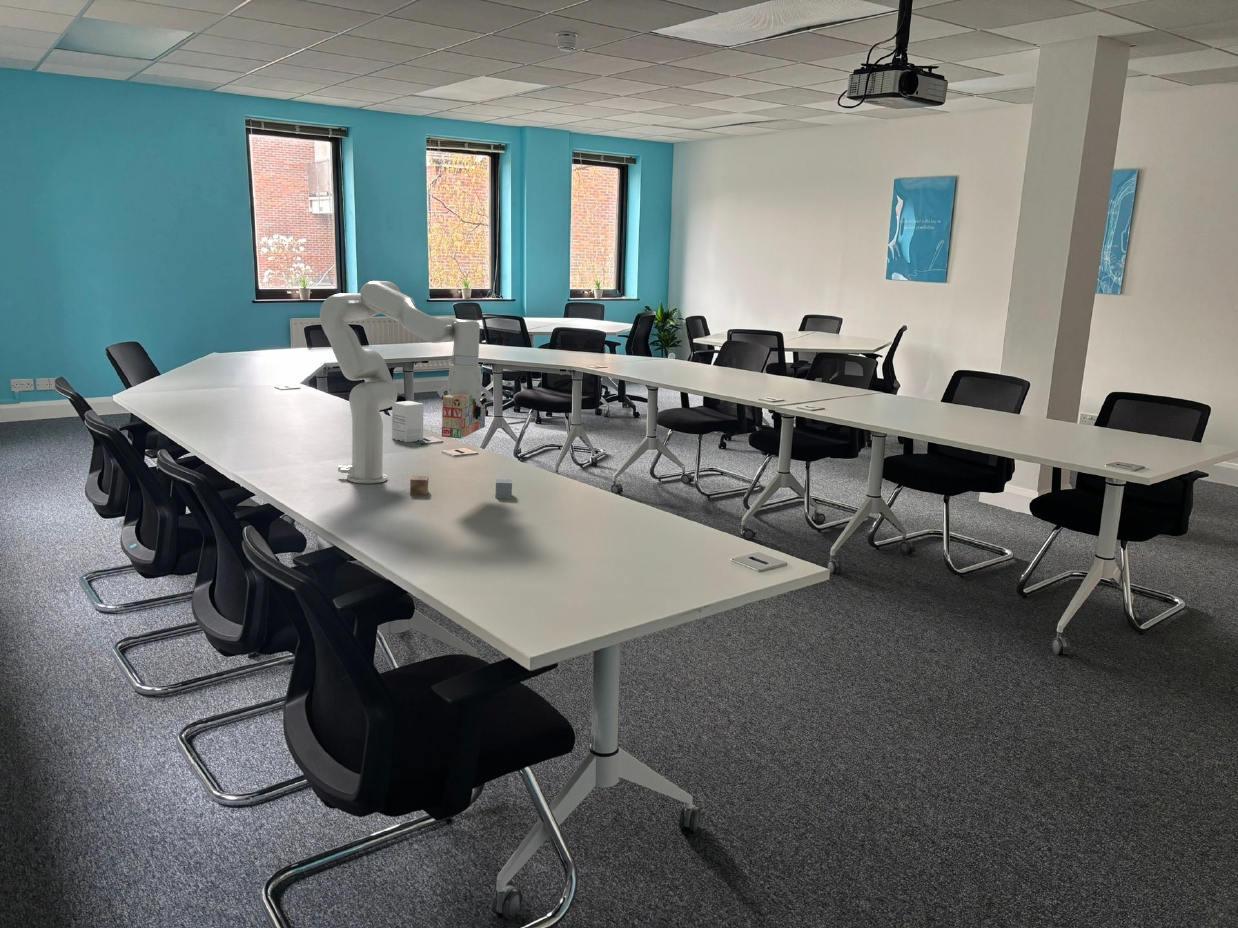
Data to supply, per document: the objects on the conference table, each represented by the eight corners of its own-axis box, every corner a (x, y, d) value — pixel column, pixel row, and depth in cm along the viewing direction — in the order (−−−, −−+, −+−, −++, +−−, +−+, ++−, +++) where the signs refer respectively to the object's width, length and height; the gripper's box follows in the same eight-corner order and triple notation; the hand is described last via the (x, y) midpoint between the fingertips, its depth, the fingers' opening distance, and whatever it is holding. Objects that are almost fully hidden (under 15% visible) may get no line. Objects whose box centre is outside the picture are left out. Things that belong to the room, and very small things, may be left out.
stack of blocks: (466, 425, 284) (467, 387, 282) (485, 427, 283) (486, 389, 280) (441, 436, 264) (442, 395, 261) (461, 438, 262) (462, 397, 260)
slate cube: (495, 498, 275) (495, 482, 274) (495, 494, 280) (496, 478, 279) (511, 498, 276) (512, 483, 274) (511, 494, 280) (512, 479, 279)
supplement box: (408, 436, 360) (409, 400, 357) (423, 440, 355) (424, 403, 352) (390, 439, 353) (391, 402, 350) (406, 442, 348) (406, 405, 345)
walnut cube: (410, 495, 272) (410, 479, 270) (411, 491, 276) (412, 475, 275) (426, 495, 272) (427, 480, 271) (428, 491, 277) (428, 476, 276)
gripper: (435, 360, 263) (433, 418, 267) (494, 364, 266) (492, 421, 269) (437, 358, 271) (436, 414, 274) (494, 361, 273) (492, 417, 277)
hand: (463, 417), depth 272 cm, fingers closed on stack of blocks, 7 cm apart
